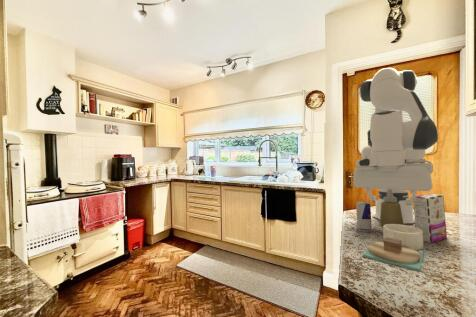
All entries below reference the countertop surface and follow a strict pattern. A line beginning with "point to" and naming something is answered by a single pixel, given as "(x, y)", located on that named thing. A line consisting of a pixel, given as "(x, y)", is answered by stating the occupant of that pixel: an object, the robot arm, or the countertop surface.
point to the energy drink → (363, 216)
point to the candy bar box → (430, 217)
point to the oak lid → (394, 251)
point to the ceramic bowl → (405, 235)
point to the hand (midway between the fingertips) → (390, 203)
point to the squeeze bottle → (390, 210)
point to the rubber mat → (407, 265)
